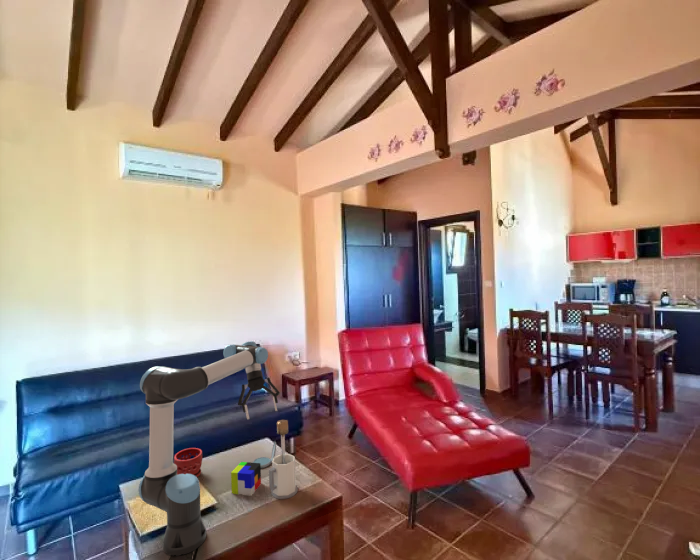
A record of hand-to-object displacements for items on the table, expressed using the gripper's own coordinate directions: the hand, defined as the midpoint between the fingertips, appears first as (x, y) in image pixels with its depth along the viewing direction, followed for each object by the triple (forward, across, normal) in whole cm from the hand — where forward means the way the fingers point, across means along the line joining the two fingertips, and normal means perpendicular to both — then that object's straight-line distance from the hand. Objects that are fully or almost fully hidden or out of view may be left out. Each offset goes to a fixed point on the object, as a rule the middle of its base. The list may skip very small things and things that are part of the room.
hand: (262, 414), depth 181 cm
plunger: (+26, -5, -2) cm, 26 cm away
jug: (+35, -3, -7) cm, 36 cm away
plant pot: (+16, +43, -26) cm, 53 cm away
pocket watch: (+21, +8, -32) cm, 39 cm away
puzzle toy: (+29, +15, -12) cm, 35 cm away
